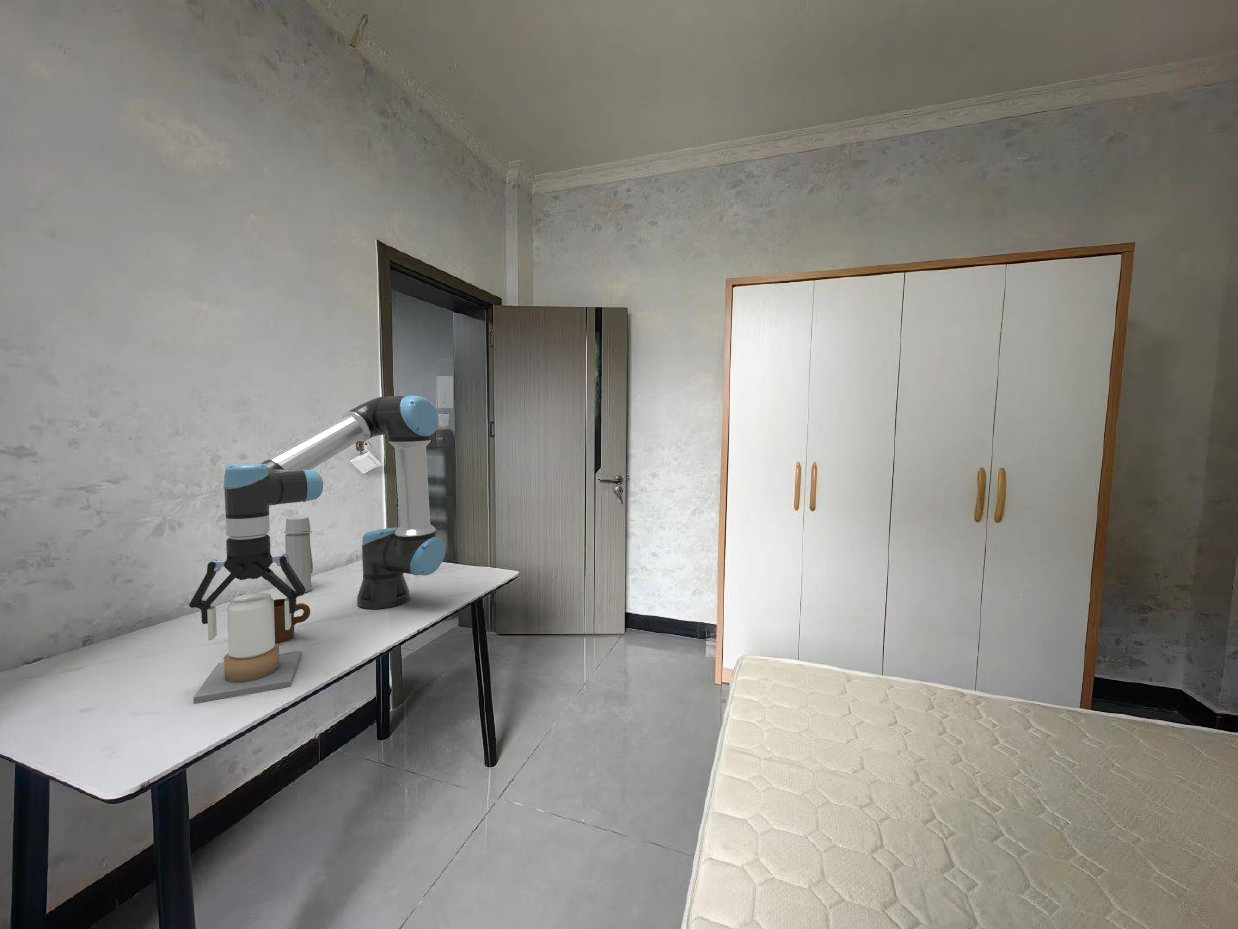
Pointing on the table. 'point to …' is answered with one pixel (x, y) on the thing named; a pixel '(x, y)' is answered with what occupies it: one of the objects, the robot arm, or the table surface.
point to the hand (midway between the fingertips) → (251, 632)
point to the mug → (279, 620)
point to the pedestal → (249, 675)
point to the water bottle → (299, 549)
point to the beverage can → (250, 625)
